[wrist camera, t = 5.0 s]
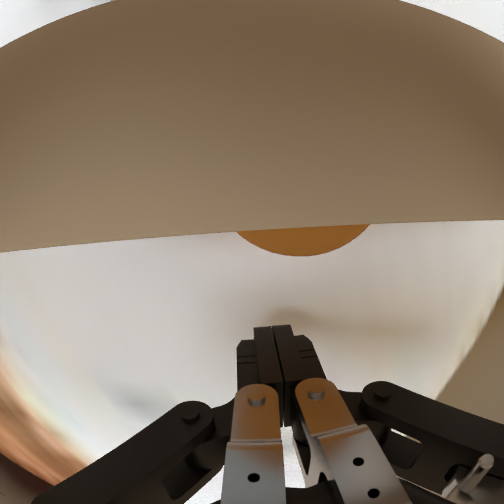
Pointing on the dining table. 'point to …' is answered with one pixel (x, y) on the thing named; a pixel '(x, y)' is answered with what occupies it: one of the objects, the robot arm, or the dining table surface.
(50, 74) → the tan arch
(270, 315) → the dining table surface
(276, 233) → the ball
